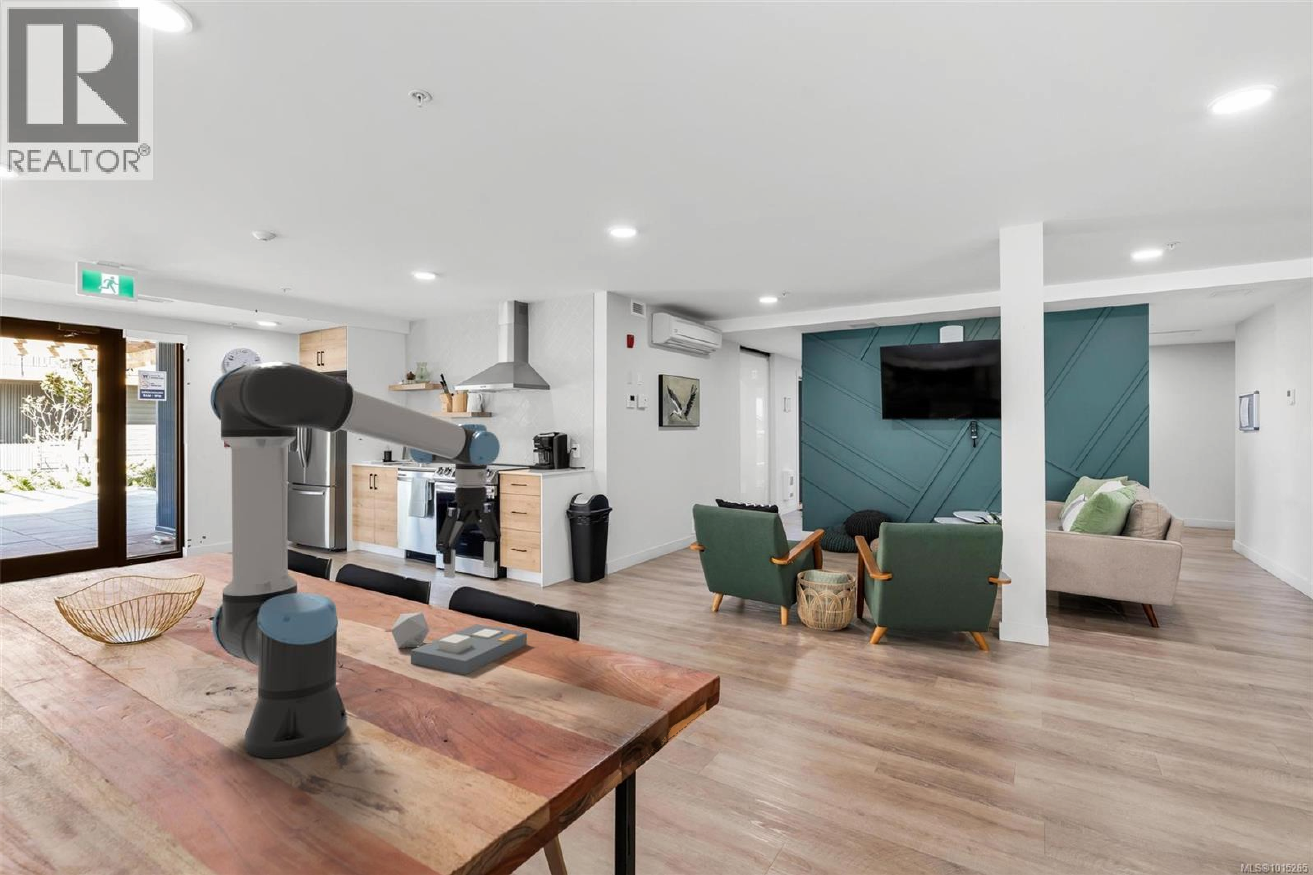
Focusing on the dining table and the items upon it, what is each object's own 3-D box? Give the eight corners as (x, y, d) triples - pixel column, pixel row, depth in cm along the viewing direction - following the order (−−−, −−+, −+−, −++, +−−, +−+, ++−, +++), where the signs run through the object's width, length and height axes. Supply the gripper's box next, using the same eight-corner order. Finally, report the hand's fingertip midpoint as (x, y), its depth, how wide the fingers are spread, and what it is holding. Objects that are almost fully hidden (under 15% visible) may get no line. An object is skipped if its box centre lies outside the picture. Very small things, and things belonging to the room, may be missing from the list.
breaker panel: (465, 674, 134) (465, 660, 134) (410, 663, 141) (410, 649, 141) (526, 644, 154) (526, 631, 154) (476, 635, 161) (476, 623, 161)
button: (455, 657, 139) (455, 643, 139) (438, 654, 141) (438, 640, 141) (470, 650, 143) (471, 636, 143) (454, 647, 146) (454, 633, 146)
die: (410, 656, 147) (434, 619, 151) (379, 638, 147) (404, 602, 151) (416, 657, 154) (439, 622, 158) (386, 640, 155) (410, 605, 158)
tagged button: (487, 650, 149) (488, 637, 149) (471, 647, 151) (471, 634, 151) (501, 644, 153) (501, 631, 153) (485, 641, 156) (485, 628, 156)
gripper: (444, 490, 140) (443, 583, 139) (515, 484, 162) (514, 564, 162) (420, 488, 143) (419, 580, 143) (493, 483, 165) (492, 562, 165)
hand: (469, 572), depth 152 cm, fingers open, 13 cm apart
